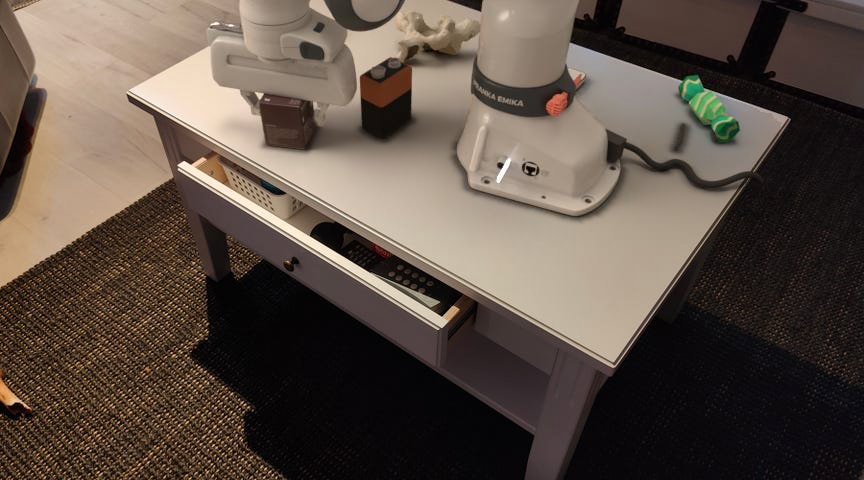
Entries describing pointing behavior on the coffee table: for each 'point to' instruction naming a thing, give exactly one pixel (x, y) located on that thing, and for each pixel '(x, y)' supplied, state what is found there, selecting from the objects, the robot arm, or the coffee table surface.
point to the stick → (680, 136)
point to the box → (286, 121)
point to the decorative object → (433, 34)
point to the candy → (708, 109)
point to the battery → (386, 97)
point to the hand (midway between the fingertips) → (288, 118)
